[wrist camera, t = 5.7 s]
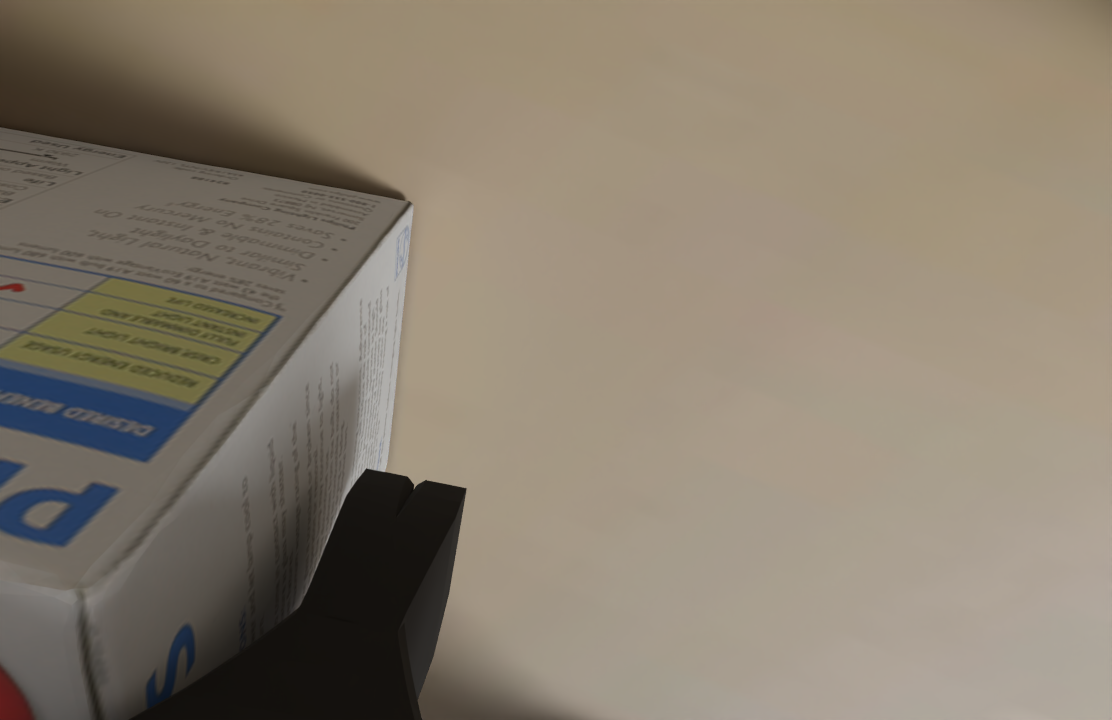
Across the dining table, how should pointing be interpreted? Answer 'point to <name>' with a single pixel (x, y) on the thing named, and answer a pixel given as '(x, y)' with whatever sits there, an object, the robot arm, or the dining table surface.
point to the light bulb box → (176, 410)
